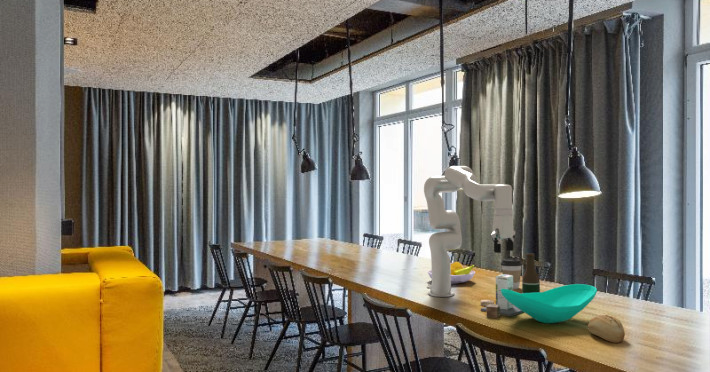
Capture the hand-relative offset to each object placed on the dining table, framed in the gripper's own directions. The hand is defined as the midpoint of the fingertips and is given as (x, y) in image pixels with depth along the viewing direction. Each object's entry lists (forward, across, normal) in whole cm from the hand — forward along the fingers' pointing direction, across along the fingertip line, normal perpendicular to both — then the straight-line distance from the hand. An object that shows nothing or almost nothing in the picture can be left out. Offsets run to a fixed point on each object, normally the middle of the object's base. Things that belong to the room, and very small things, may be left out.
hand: (503, 251), depth 245 cm
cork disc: (+26, -4, -12) cm, 29 cm away
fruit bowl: (+27, -40, -60) cm, 77 cm away
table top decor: (+26, +4, +23) cm, 35 cm away
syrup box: (+25, 0, 0) cm, 25 cm away
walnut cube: (+26, +12, +2) cm, 29 cm away
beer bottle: (+26, -15, +4) cm, 30 cm away
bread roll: (+26, +12, +50) cm, 57 cm away
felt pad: (+26, 0, 0) cm, 26 cm away
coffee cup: (+26, -47, -26) cm, 60 cm away
